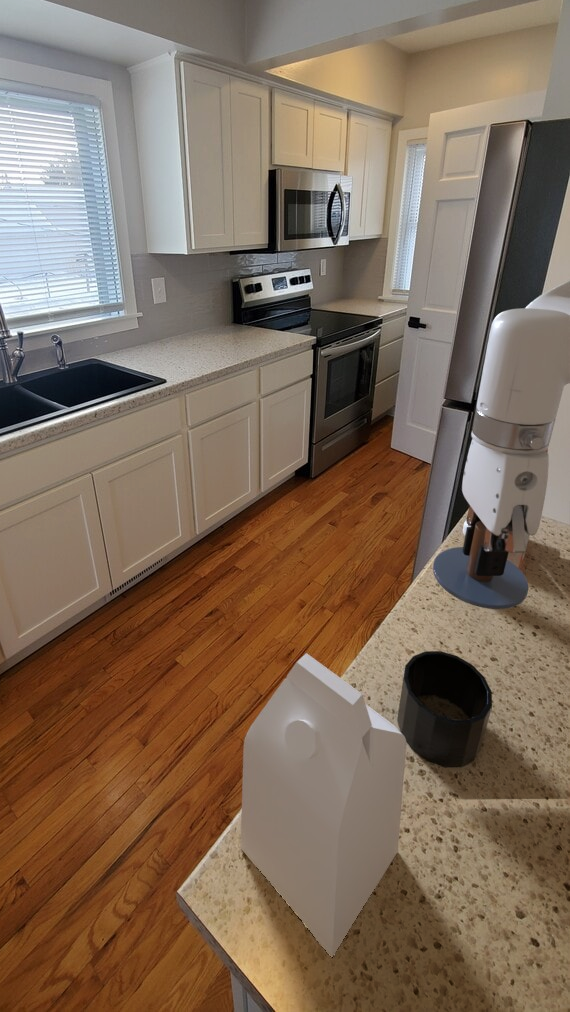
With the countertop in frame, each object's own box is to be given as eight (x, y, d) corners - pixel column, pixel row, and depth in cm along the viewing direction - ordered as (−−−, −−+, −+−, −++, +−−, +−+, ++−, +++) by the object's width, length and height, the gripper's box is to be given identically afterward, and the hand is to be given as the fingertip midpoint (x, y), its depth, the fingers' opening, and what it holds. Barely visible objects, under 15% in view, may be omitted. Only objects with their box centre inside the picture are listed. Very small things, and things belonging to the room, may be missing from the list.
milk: (397, 851, 51) (428, 678, 40) (332, 959, 44) (348, 783, 33) (308, 768, 59) (314, 605, 48) (240, 848, 52) (229, 676, 41)
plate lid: (501, 553, 66) (514, 502, 62) (544, 613, 56) (561, 556, 52) (421, 554, 66) (429, 502, 63) (449, 613, 56) (460, 556, 53)
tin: (461, 695, 67) (471, 650, 64) (494, 770, 58) (507, 723, 55) (389, 695, 68) (394, 651, 64) (410, 770, 58) (418, 723, 55)
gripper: (594, 462, 45) (548, 613, 52) (510, 400, 60) (484, 525, 67) (512, 463, 45) (478, 613, 53) (448, 401, 60) (429, 525, 67)
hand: (482, 562), depth 60 cm, fingers closed on plate lid, 3 cm apart
